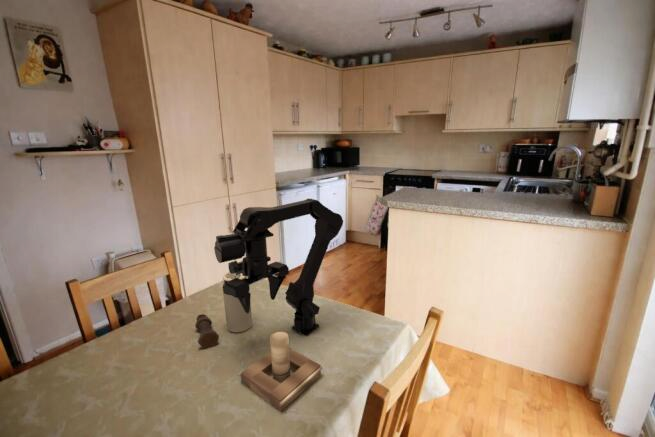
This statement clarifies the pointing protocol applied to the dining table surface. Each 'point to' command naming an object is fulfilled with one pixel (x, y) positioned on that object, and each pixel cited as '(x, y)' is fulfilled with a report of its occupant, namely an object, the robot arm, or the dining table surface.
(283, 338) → the peg
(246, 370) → the socket board
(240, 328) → the travel mug
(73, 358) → the dining table surface
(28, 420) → the dining table surface
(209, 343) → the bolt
